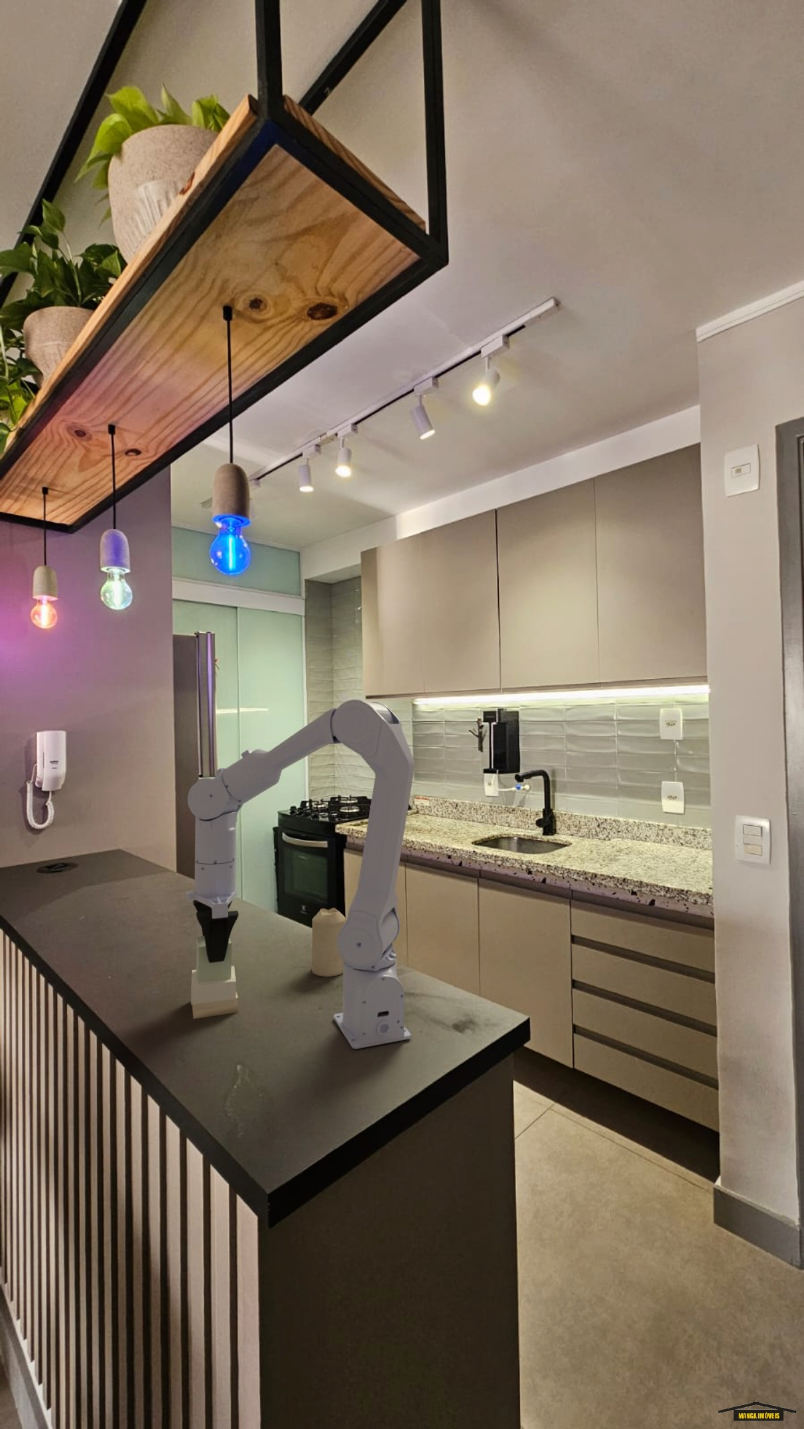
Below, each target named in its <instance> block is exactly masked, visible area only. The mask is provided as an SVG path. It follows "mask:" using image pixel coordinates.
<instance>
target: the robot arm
mask: <svg viewBox="0 0 804 1429" xmlns="http://www.w3.org/2000/svg"><path fill="white" fill-rule="evenodd" d="M335 744H338V745H339V744H342V745H343V746H345V747H346V748H348V749H350V750H351V751H353V752H355V753H356V754H357V755H359V756H361V758H362V759H363V760H364V761H365V763H366V764H367V765H368V766H369V768H371V770H372V771H373V773H374V774H375V776H374V777H375V778H374V781H373V782H374V783H373V787H372V788H373V789H372V795H371V796H372V797H371V802H370V809H369V816H368V820H367V827H366V833H365V840H364V846H363V850H362V851H363V852H362V858H361V864H360V871H359V876H358V877H359V878H358V882H357V883H358V884H357V890H356V892H355V893H354V897H353V898H352V900H351V903H350V905H349V908H348V914H347V919H346V922H345V924H344V925H343V927H342V928H341V929H340V931H339V934H338V937H337V947H338V951H339V953H340V955H341V957H342V958H343V973H342V1012H340V1013H335V1014H334V1015H333V1020H334V1021H335V1023H336V1025H338V1027H339V1029H340V1030H341V1032H342V1034H343V1035H344V1037H345V1039H346V1040H347V1042H348V1043H349V1045H350V1047H351V1048H352V1049H354V1050H358V1049H363V1048H368V1047H373V1046H378V1045H384V1044H389V1043H394V1042H399V1041H404V1040H405V1041H406V1040H410V1039H411V1037H412V1034H411V1033H410V1031H409V1030H408V1029H407V1028H406V1026H405V1009H406V1008H405V1007H406V1006H405V1005H406V1004H405V1001H406V1000H405V999H406V997H405V989H404V986H403V984H402V982H401V981H400V979H399V978H398V975H397V953H396V950H395V947H394V945H393V943H394V942H395V941H396V939H398V937H399V934H400V931H401V921H400V917H399V914H398V913H399V912H398V902H399V897H398V894H397V892H396V886H397V879H398V874H399V873H398V872H399V869H400V868H399V866H400V859H401V854H402V847H403V843H404V842H403V841H404V835H405V830H406V829H405V828H406V824H407V823H406V822H407V817H408V810H409V804H410V798H411V794H412V793H411V792H412V786H413V779H414V773H415V759H414V756H413V755H412V754H413V753H412V752H411V749H410V746H409V744H408V741H407V738H406V735H405V732H404V731H403V725H402V721H401V719H400V718H399V717H398V716H397V715H396V714H395V713H394V712H393V711H392V710H391V709H390V707H388V706H387V705H386V704H384V703H382V702H378V701H370V702H369V701H364V700H362V699H350V700H347V701H344V702H342V703H341V704H340V705H339V706H338V707H333V708H330V709H329V710H327V711H325V712H323V714H321V715H320V716H318V717H317V718H315V719H314V720H312V721H311V722H309V723H308V724H306V725H305V726H304V727H301V729H299V730H298V731H296V732H295V733H293V734H292V735H291V736H289V737H288V738H286V739H285V740H283V741H282V742H281V743H279V744H277V745H276V746H275V747H273V748H271V749H270V750H269V751H268V750H264V749H262V748H261V749H259V748H257V749H254V750H253V749H246V750H245V751H243V752H242V753H241V754H240V756H241V757H242V758H240V759H238V760H237V761H235V762H234V763H232V764H231V765H229V766H227V767H220V768H218V769H216V771H215V772H216V775H215V777H213V778H211V777H203V778H199V779H197V781H196V782H195V783H194V784H193V785H192V786H191V787H190V789H189V791H188V794H187V805H188V809H189V811H191V813H192V815H194V816H195V830H194V831H195V832H194V834H195V835H194V837H195V838H194V839H195V841H194V842H195V844H194V846H195V848H194V890H189V891H186V892H185V897H186V898H185V899H187V900H193V901H192V905H193V906H194V907H195V908H194V909H196V913H195V915H196V920H197V921H198V924H199V926H200V927H201V934H202V936H204V938H205V945H206V952H207V957H208V961H209V963H214V962H222V961H224V959H225V956H226V952H227V947H228V942H229V938H230V937H231V934H232V931H233V928H234V926H235V924H236V922H237V920H238V918H239V915H240V914H239V911H238V910H229V909H230V907H231V905H232V903H233V901H234V898H236V896H238V889H237V886H236V884H237V883H236V881H237V880H236V879H237V878H236V876H237V873H236V872H237V866H236V865H237V822H238V814H239V811H240V810H241V809H242V807H243V806H244V804H246V803H248V802H249V801H250V800H253V799H254V798H256V797H257V796H259V795H261V794H263V793H264V792H265V791H267V790H268V789H270V788H272V787H273V786H275V785H276V784H277V785H278V783H279V781H280V779H281V775H282V771H283V770H285V769H286V768H289V767H290V766H292V765H294V764H295V763H297V762H299V761H300V760H302V759H304V758H306V757H308V756H310V755H311V754H313V753H315V752H316V751H318V750H320V749H322V748H324V747H326V746H327V745H335ZM230 939H231V938H230Z"/></svg>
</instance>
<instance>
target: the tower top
mask: <svg viewBox="0 0 804 1429" xmlns="http://www.w3.org/2000/svg"><path fill="white" fill-rule="evenodd" d="M190 990H191V991H190V1005H192V1004H198V1003H207V1002H216V1001H224V1000H233V999H236V992H237V978H236V970H235V965H231V978H230V979H222V980H215V981H208V982H200V983H198V978H197V972H196V969H192V970H191V987H190Z"/></svg>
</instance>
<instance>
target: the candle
mask: <svg viewBox="0 0 804 1429" xmlns="http://www.w3.org/2000/svg"><path fill="white" fill-rule="evenodd" d="M346 920H347V919H346V917H345V916H344V914H342V913H341V912H340V911H339V910H337V909H336V907H332V908H330V909H326V908H320V910H319V911H318V912H317V914H316V915H314V917H313V918H312V921H311V922H312V923H311V924H312V925H311V926H312V928H311V929H312V930H311V931H312V932H311V933H312V934H311V937H312V938H311V941H312V942H311V948H312V949H311V970H312V973H313V975H316V976H319V977H324V978H325V977H329V978H330V977H335V976H339V975H343V958H342V957H341V955H340V953H339V951H338V947H337V937H338V934H339V931H340V929H341V928H342V927H343V925H344V924H345V922H346Z"/></svg>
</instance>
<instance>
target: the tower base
mask: <svg viewBox="0 0 804 1429" xmlns="http://www.w3.org/2000/svg"><path fill="white" fill-rule="evenodd" d="M191 1009H192V1018H193V1020H194V1019H201V1018H202V1019H203V1018H208V1017H213V1016H220V1015H227V1014H233V1013H238V1012H239V996H238V992H237V991H236V999H233V1000H224V1001H216V1002H207V1003H198V1004H191Z"/></svg>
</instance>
